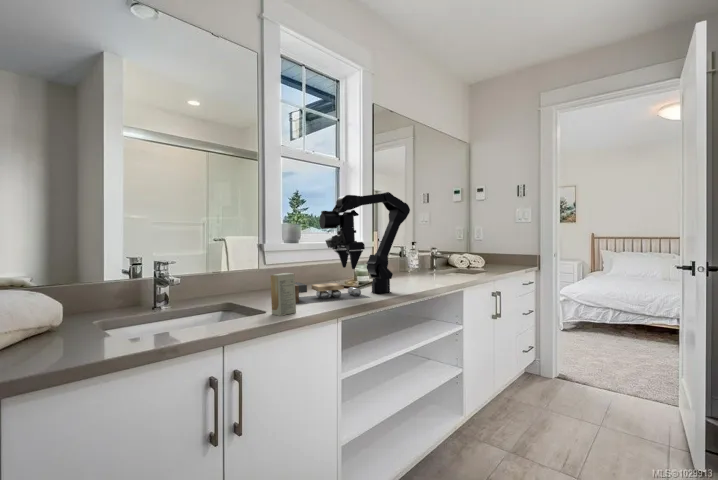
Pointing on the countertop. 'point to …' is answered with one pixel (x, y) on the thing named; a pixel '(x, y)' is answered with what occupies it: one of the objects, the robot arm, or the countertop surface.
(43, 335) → the countertop surface
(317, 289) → the oak slab
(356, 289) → the loose steel roller
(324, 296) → the cylinder
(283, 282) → the skincare box
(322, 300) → the rubber mat
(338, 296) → the cylinder
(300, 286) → the walnut stop
